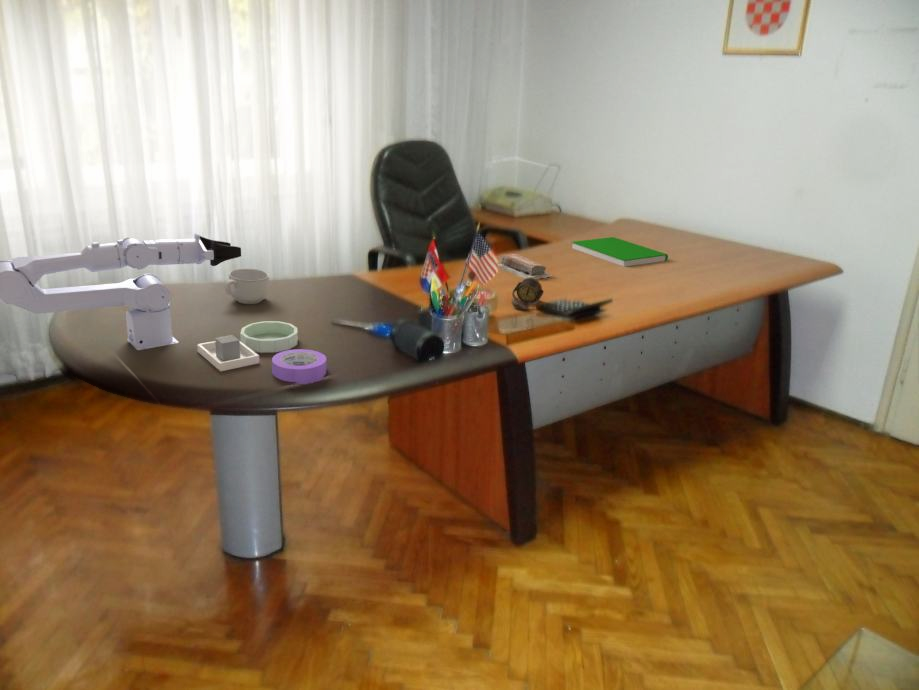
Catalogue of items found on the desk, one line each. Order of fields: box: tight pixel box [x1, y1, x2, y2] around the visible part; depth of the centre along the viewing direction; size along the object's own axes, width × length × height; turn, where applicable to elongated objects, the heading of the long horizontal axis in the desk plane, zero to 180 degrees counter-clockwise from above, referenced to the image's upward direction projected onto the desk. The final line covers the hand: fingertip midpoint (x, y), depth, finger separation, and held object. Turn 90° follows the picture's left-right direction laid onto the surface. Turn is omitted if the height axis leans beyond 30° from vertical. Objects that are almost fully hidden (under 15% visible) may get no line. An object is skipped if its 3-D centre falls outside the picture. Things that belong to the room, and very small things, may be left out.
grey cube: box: [214, 334, 241, 362], centre depth 170 cm, size 4×4×4 cm
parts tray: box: [196, 340, 260, 372], centre depth 171 cm, size 9×13×2 cm
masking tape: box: [271, 348, 328, 386], centre depth 166 cm, size 12×12×4 cm
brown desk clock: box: [511, 278, 545, 311], centre depth 221 cm, size 7×13×10 cm
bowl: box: [239, 320, 299, 353], centre depth 181 cm, size 13×13×4 cm
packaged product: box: [497, 253, 553, 280], centre depth 253 cm, size 18×5×10 cm
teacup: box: [224, 267, 270, 305], centre depth 208 cm, size 14×11×8 cm
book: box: [571, 236, 669, 268], centre depth 284 cm, size 22×28×3 cm
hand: (235, 249), depth 181 cm, fingers open, 7 cm apart
